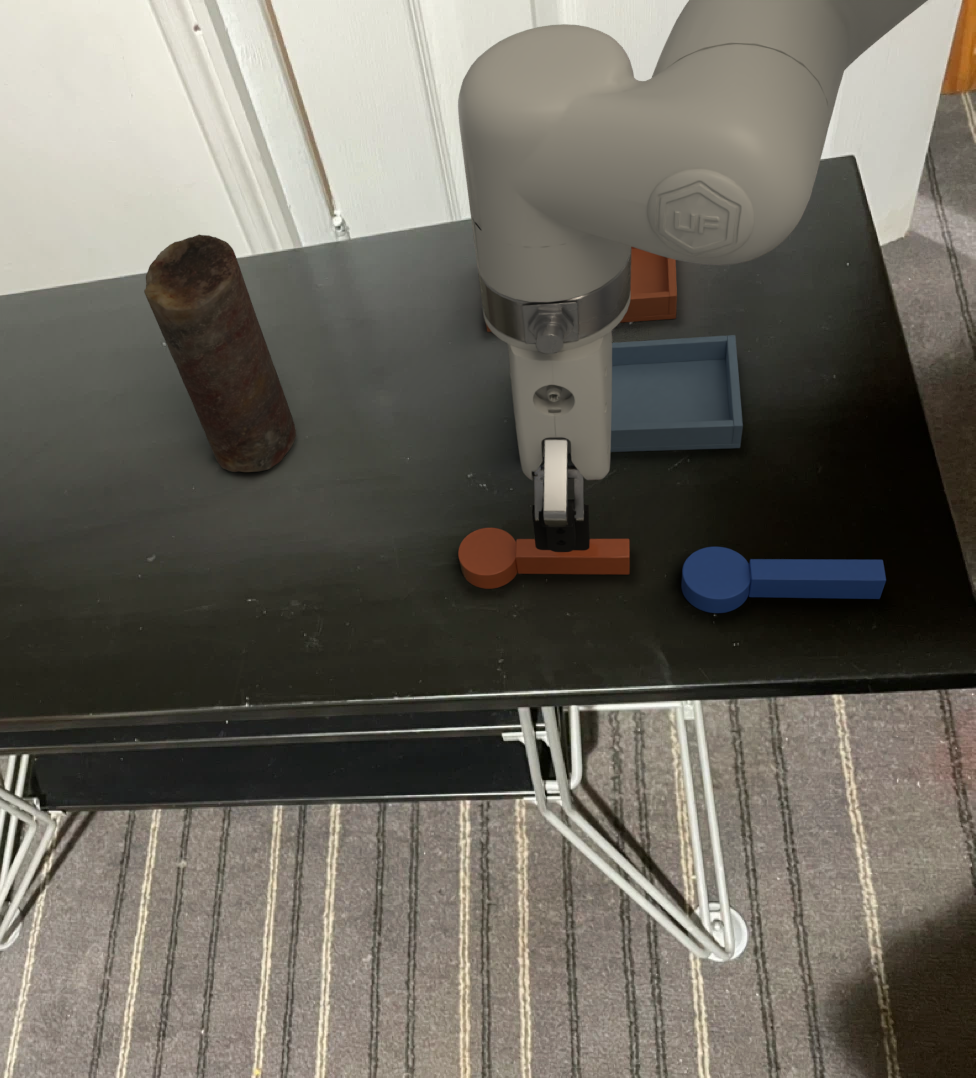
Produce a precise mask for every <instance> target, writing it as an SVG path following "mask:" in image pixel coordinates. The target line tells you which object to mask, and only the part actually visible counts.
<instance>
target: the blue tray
mask: <svg viewBox="0 0 976 1078" xmlns="http://www.w3.org/2000/svg"><path fill="white" fill-rule="evenodd" d="M737 350H738V349H737V338H736V334H728V335H715V336H714V335H713V336H698V337H697V336H696V337H695V336H694V337H683V338H681V337H680V338H665V339H664V338H663V339H651V340H634V341H618V342H612V411H611V453H621V452H626V453H627V452H657V451H658V452H659V451H688V450H689V451H690V450H719V449H720V450H721V449H722V450H723V449H726V450H727V449H741V445H742V444H741V443H742V435H743V427H744V424H743V411H742V410H743V409H742V398H741V388H740V387H741V386H740V377H739V376H740V375H739V362H738V351H737Z"/></svg>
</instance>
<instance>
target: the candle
mask: <svg viewBox="0 0 976 1078" xmlns="http://www.w3.org/2000/svg"><path fill="white" fill-rule="evenodd" d="M143 293H144V296H145V298H146V300H147V302H148V304H149V307H150V309H151V311H152V313H153V316H154V318H155V321H156V323H157V325H158V327H159V330H160V333H161V335H162V336H163V337H162V338H163V339H164V341H165V343H166V347H167V348H168V351H169V353H170V356H171V357H172V360H173V362H174V364H175V366H176V368H177V371H178V373H179V375H180V378H181V381H182V383H183V385H184V388H185V389H186V392H187V394H188V396H189V398H190V401H191V404H192V406H193V408H194V410H195V413H196V416H197V417H198V420H199V422H200V425H201V427H202V430H203V432H204V434H205V437H206V440H207V441H208V444H209V446H210V448H211V450H212V453H213V455H214V457H215V460H216V462H217V463H218V464H219V466H220V467H221V468H222V469H224V470H227V471H228V472H232V473H237V472H238V473H239V472H242V473H256V472H257V473H258V472H262V471H267V470H270V469H273V467H274V466H276V465H278V464H279V463H280V462H281V461H282V460H283V459H284V457H285V456H286V455H287V453H289V451H290V450H291V448H292V446H293V444H294V443H295V440H296V438H297V429H296V425H295V421H294V419H293V415H292V413H291V410H290V406H289V404H288V400H287V398H286V395H285V392H284V390H283V389H284V388H283V387H282V386H283V385H282V383H281V381H280V378H279V375H278V372H277V370H276V367H275V365H274V362H273V359H272V356H271V353H270V350H269V347H268V345H267V342H266V339H265V336H264V333H263V331H262V328H261V325H260V323H259V322H260V321H259V319H258V317H257V313H256V311H255V307H254V305H253V302H252V299H251V296H250V293H249V290H248V287H247V284H246V282H245V279H244V276H243V273H242V269H241V267H240V264H239V261H238V258H237V255H236V253H235V250H234V248H233V247H232V246H231V245H230V244H229V242H227V241H225V240H223V239H221V238H218V237H217V236H211V235H209V234H208V235H206V234H200V233H199V234H197V235H193V236H190V237H187V238H184V239H182V240H178V241H177V240H176V241H174V242H172V243H170V244H169V245H168V246H166V247H165V248H164V249H163V250H161V251H160V252H159V254H157V256H156V257H155V259H154V260H153V261H152V262H151V263H150V265H149V266H148V269H147V271H146V273H145V289H144V290H143Z"/></svg>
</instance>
